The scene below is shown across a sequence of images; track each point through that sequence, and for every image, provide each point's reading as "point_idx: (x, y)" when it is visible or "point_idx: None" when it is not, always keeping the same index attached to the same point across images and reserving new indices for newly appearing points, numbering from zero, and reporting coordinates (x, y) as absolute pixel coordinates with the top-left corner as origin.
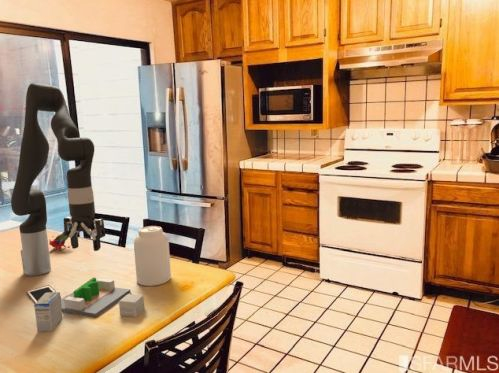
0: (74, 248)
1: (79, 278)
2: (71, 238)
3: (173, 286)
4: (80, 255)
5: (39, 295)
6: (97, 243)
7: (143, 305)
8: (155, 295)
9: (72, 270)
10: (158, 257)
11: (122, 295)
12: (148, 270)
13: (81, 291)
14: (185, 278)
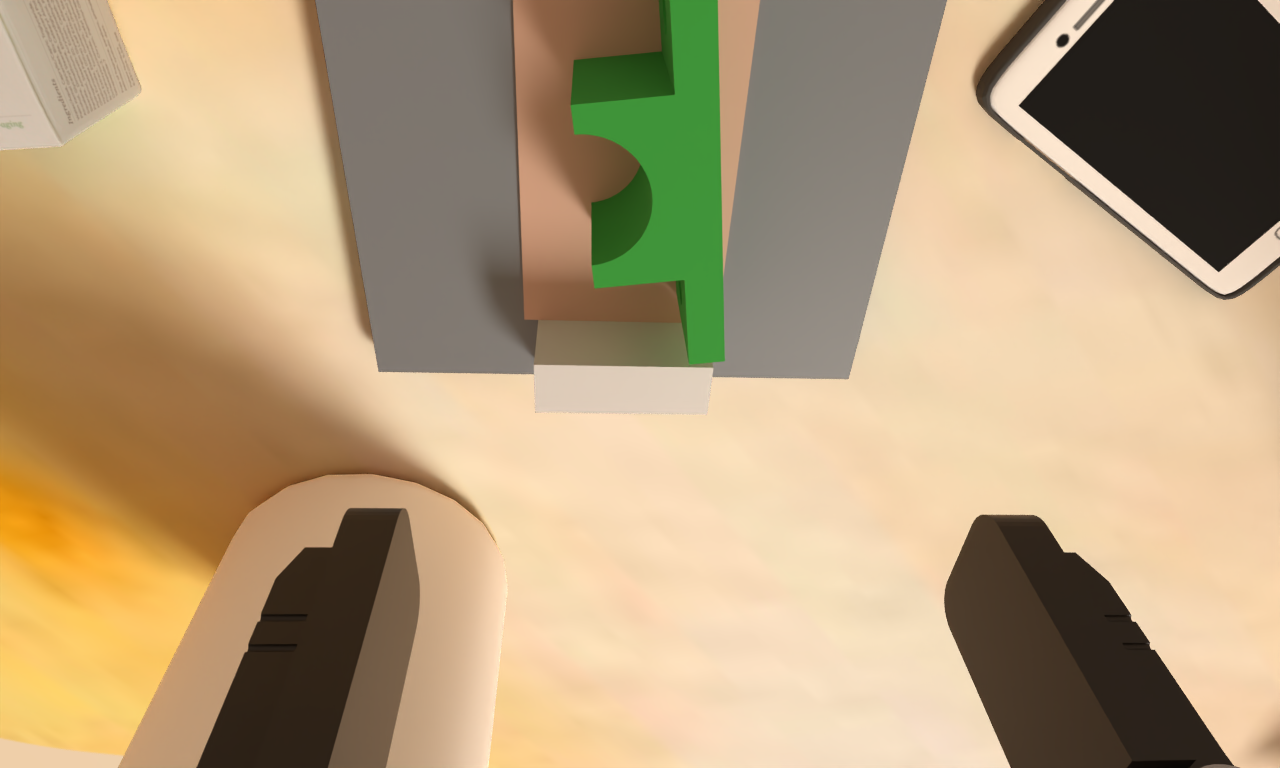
0: (982, 520)
1: (1002, 469)
2: (1177, 748)
3: (132, 511)
4: None
5: (1241, 89)
6: (233, 690)
7: None
8: (128, 357)
9: (1127, 558)
10: (139, 732)
11: (361, 261)
12: (264, 584)
13: (670, 62)
14: (164, 620)
